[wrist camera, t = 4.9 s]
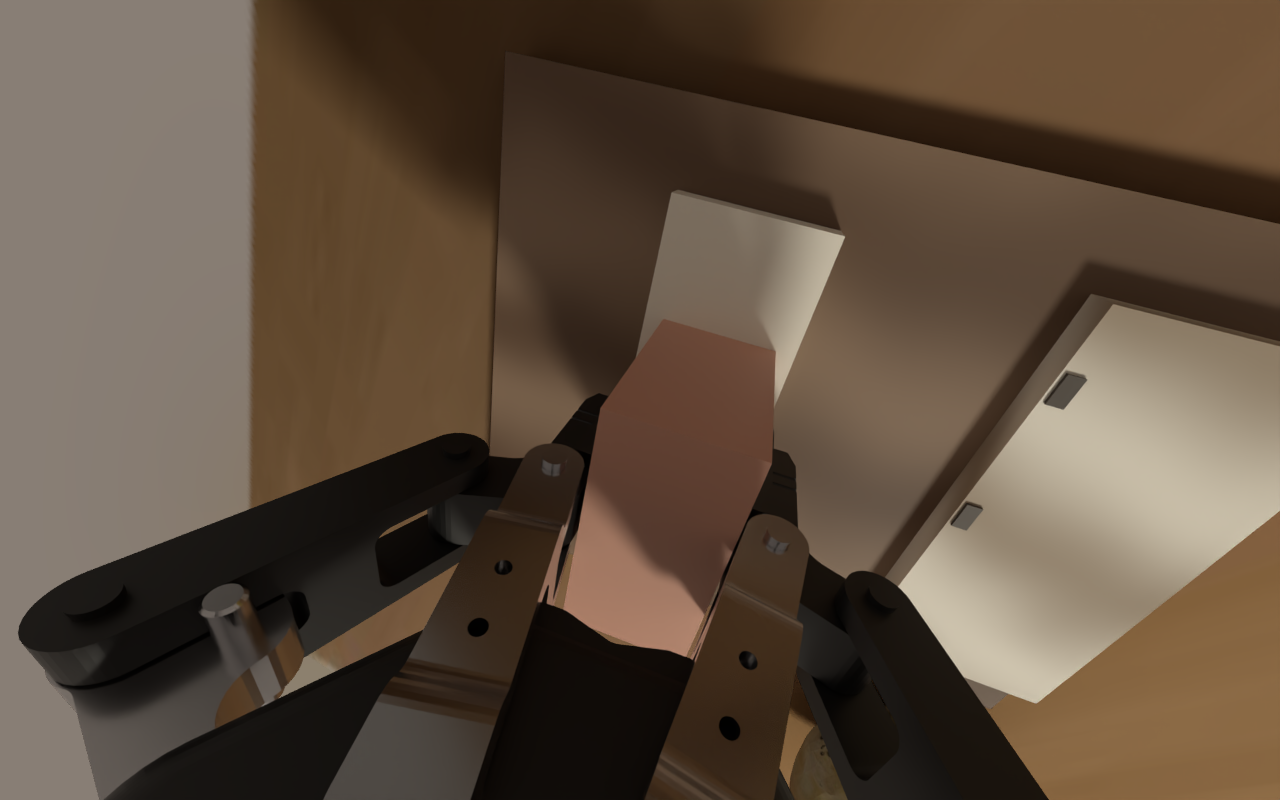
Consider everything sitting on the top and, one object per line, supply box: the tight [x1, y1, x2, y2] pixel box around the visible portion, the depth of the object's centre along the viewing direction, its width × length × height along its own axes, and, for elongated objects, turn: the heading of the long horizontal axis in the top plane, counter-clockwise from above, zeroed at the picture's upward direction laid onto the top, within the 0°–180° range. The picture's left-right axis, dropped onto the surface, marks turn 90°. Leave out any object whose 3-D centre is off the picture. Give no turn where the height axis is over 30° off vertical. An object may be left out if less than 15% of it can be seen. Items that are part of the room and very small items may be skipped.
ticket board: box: [490, 51, 1280, 709], centre depth 14 cm, size 16×20×2 cm
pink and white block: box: [564, 190, 845, 657], centre depth 12 cm, size 12×4×6 cm, turn 168°
